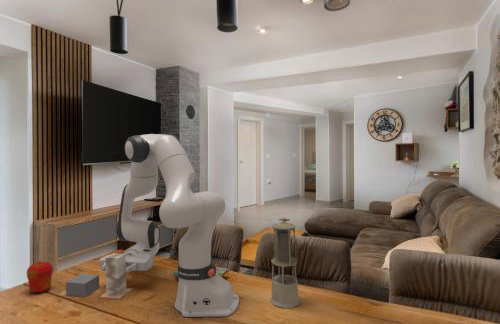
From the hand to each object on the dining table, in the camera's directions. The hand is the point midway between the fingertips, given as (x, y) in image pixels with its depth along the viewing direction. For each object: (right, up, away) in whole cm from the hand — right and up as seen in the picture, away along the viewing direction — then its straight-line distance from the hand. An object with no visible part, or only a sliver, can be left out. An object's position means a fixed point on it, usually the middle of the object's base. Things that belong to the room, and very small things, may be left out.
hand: (114, 269), depth 118 cm
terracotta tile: (0, -10, +1) cm, 10 cm away
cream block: (0, -9, +1) cm, 9 cm away
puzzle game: (+30, -9, +15) cm, 35 cm away
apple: (-31, -10, +5) cm, 33 cm away
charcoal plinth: (-14, -10, +4) cm, 17 cm away
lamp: (+63, -9, -4) cm, 64 cm away
